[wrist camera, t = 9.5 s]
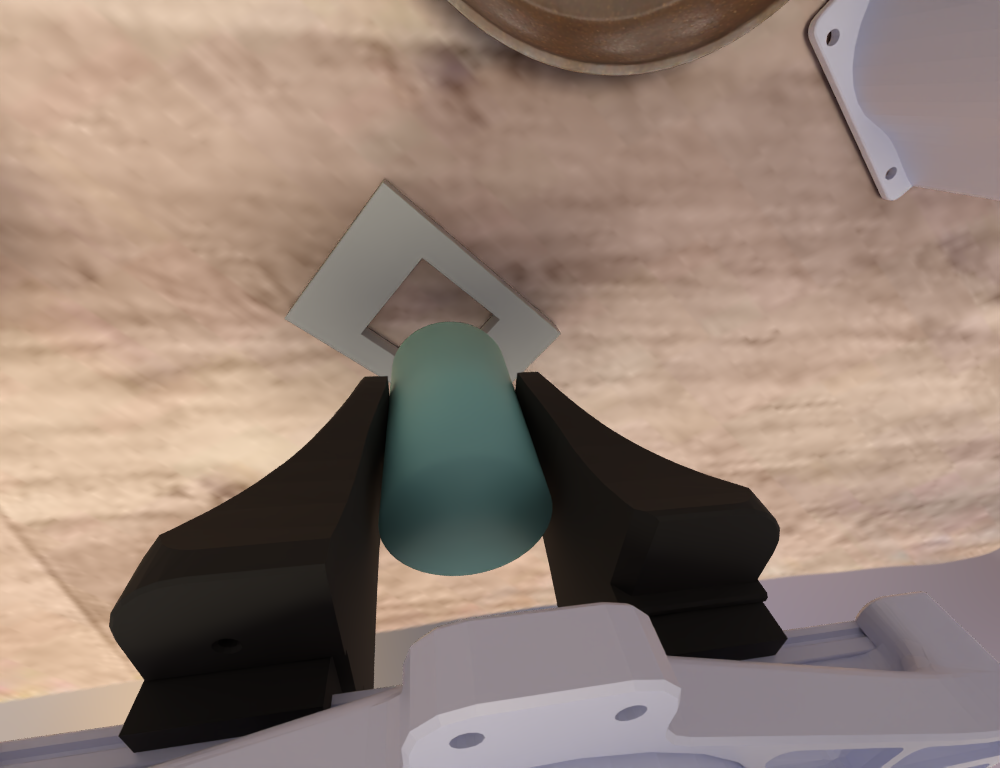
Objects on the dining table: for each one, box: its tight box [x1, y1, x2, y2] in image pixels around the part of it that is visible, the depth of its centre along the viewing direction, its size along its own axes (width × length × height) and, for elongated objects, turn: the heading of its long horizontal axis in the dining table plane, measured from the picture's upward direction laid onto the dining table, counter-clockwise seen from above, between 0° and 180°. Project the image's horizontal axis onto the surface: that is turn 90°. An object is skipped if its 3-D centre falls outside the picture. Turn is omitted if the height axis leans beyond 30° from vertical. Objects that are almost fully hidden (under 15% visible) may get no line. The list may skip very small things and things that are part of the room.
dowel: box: [378, 322, 552, 576], centre depth 12 cm, size 4×4×6 cm
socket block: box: [285, 179, 561, 383], centre depth 20 cm, size 10×7×1 cm
